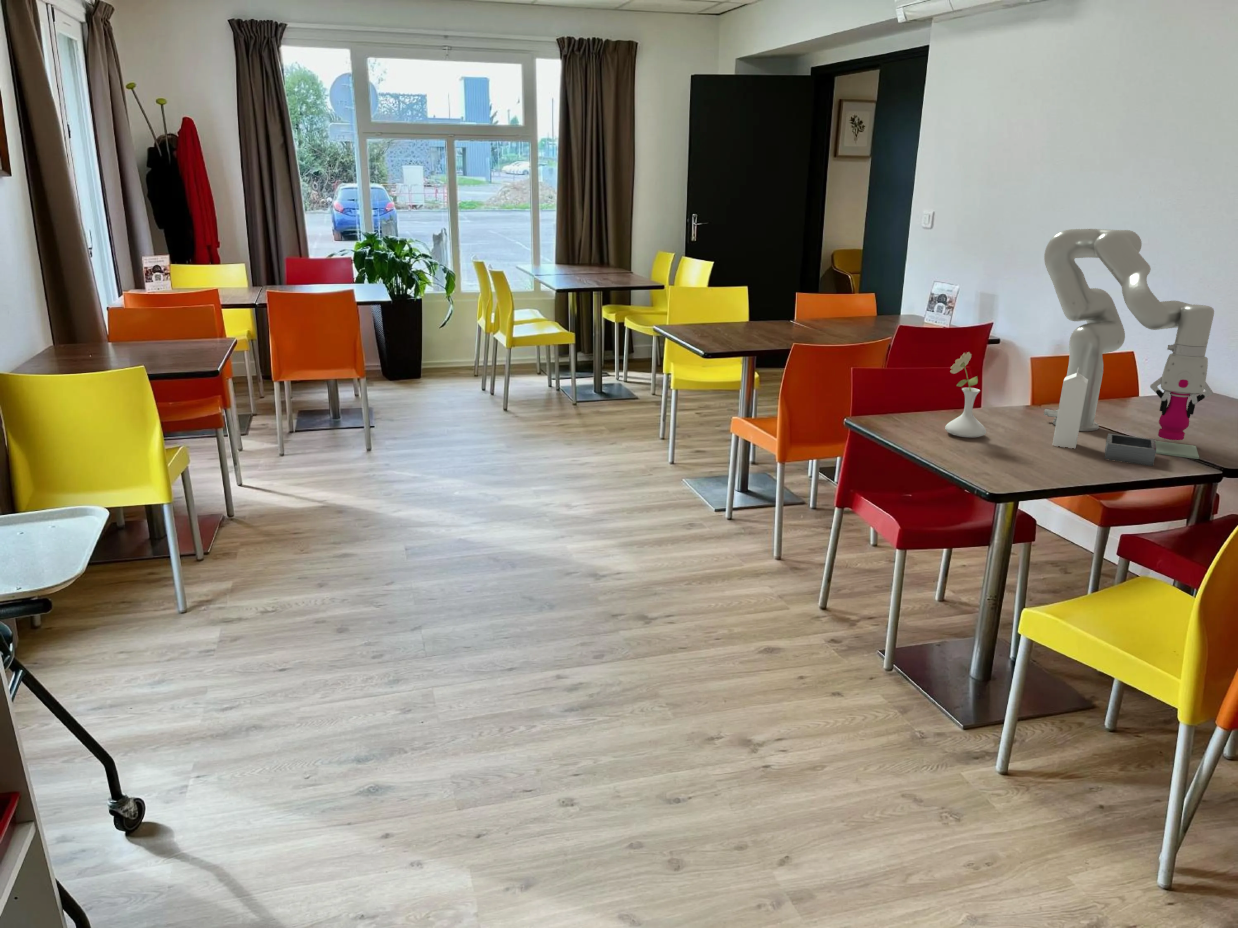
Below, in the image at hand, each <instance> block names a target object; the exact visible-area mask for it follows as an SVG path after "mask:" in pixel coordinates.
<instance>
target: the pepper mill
mask: <svg viewBox="0 0 1238 928" xmlns="http://www.w3.org/2000/svg"><path fill="white" fill-rule="evenodd" d="M1178 383H1179V384H1178V385H1179V387H1181V388H1185V387H1187V386H1188V384H1189V383H1188V381H1187V380H1180V381H1179V382H1178ZM1169 395H1170V399H1169V401H1168V404H1167V408H1166V413H1165V414H1164V415H1162V414H1161V415H1160V417H1159V420H1158V424H1159V426H1160V427H1161V428H1159V429H1158V434H1157V436H1158V437H1159V438H1162V439H1164V440H1170V441H1182V440H1184V439H1185V435H1186V433H1185V432H1184V431H1185V430H1187V428H1188V427H1190V426H1189V425H1190V418H1188V417H1187V408H1188V399H1189V398H1191V394H1187V393H1177V392H1170V394H1169Z"/></svg>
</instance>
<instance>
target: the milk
mask: <svg viewBox="0 0 1238 928" xmlns="http://www.w3.org/2000/svg"><path fill="white" fill-rule="evenodd" d="M1078 369H1079V368H1078ZM1087 384H1088V379H1086V378H1085V377H1084V376H1082V375H1081V374H1079V373H1078V370H1077V373H1075V374H1072V375H1070V376H1067V375H1066V376H1065V377H1064V379H1063V383H1062V388H1061V393H1060V398H1059V404H1058V409H1057V410H1058V415H1057V421H1056V425H1055V428H1054V434H1053V439H1052V445H1054V446H1053V447H1058V446H1060V447H1059V448H1065V447H1068V448H1067V449H1072V448H1074V449H1073V450H1075V449H1076V447H1077V443H1078V438H1079V433H1080V431H1079V428H1080V422H1081V417H1082V412H1083V406H1084V401H1085V395H1086V390H1087Z"/></svg>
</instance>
